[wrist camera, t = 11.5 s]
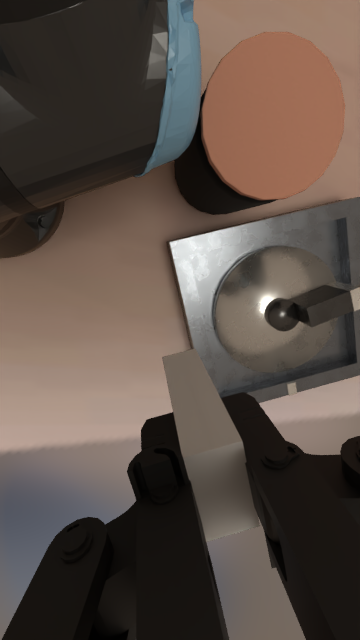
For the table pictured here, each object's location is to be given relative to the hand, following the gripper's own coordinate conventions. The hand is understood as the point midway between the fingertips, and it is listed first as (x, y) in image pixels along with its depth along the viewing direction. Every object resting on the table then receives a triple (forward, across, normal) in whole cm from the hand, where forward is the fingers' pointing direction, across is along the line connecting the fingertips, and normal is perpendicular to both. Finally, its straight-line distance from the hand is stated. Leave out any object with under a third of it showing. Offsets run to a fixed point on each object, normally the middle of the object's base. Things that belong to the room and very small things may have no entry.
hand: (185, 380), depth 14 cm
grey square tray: (+29, +15, -7) cm, 34 cm away
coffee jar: (+30, +11, +12) cm, 34 cm away
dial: (+27, +15, -7) cm, 32 cm away
